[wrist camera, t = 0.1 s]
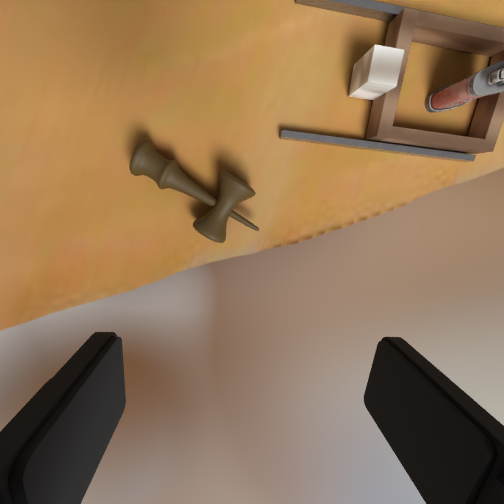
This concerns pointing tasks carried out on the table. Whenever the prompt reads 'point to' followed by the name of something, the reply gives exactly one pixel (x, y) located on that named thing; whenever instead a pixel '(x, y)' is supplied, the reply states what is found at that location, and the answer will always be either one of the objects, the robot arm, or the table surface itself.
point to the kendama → (195, 190)
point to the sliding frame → (393, 68)
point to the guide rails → (361, 4)
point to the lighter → (467, 89)
